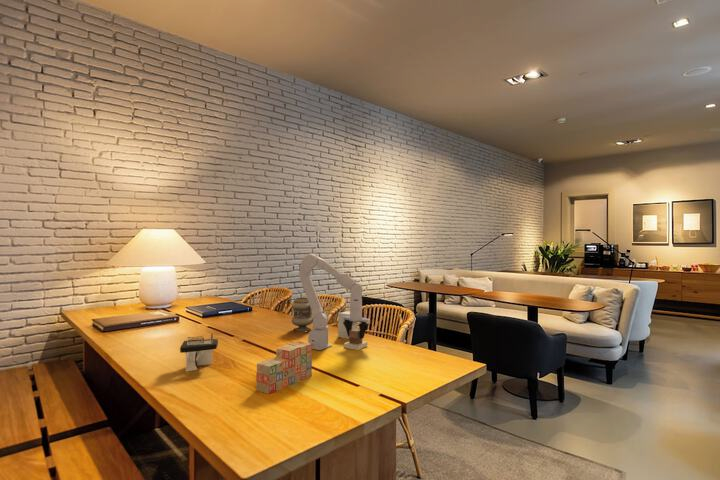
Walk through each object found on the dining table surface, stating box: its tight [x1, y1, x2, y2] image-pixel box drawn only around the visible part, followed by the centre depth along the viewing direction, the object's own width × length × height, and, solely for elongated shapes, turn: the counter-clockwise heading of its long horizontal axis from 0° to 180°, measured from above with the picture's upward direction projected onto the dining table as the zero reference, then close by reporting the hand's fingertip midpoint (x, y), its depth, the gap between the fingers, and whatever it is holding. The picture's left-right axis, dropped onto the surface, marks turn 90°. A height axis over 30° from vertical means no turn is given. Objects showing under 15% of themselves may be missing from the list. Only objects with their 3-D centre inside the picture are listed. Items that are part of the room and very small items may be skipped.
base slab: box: [343, 340, 368, 351], centre depth 187 cm, size 8×8×2 cm
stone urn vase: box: [291, 296, 313, 333], centre depth 220 cm, size 12×12×18 cm
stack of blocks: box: [255, 341, 313, 395], centre depth 140 cm, size 21×6×12 cm, turn 146°
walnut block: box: [348, 328, 363, 344], centre depth 187 cm, size 4×4×6 cm
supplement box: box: [337, 310, 358, 340], centre depth 206 cm, size 7×7×13 cm
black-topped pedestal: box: [179, 332, 219, 373], centre depth 155 cm, size 28×26×13 cm
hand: (355, 337), depth 187 cm, fingers open, 6 cm apart
